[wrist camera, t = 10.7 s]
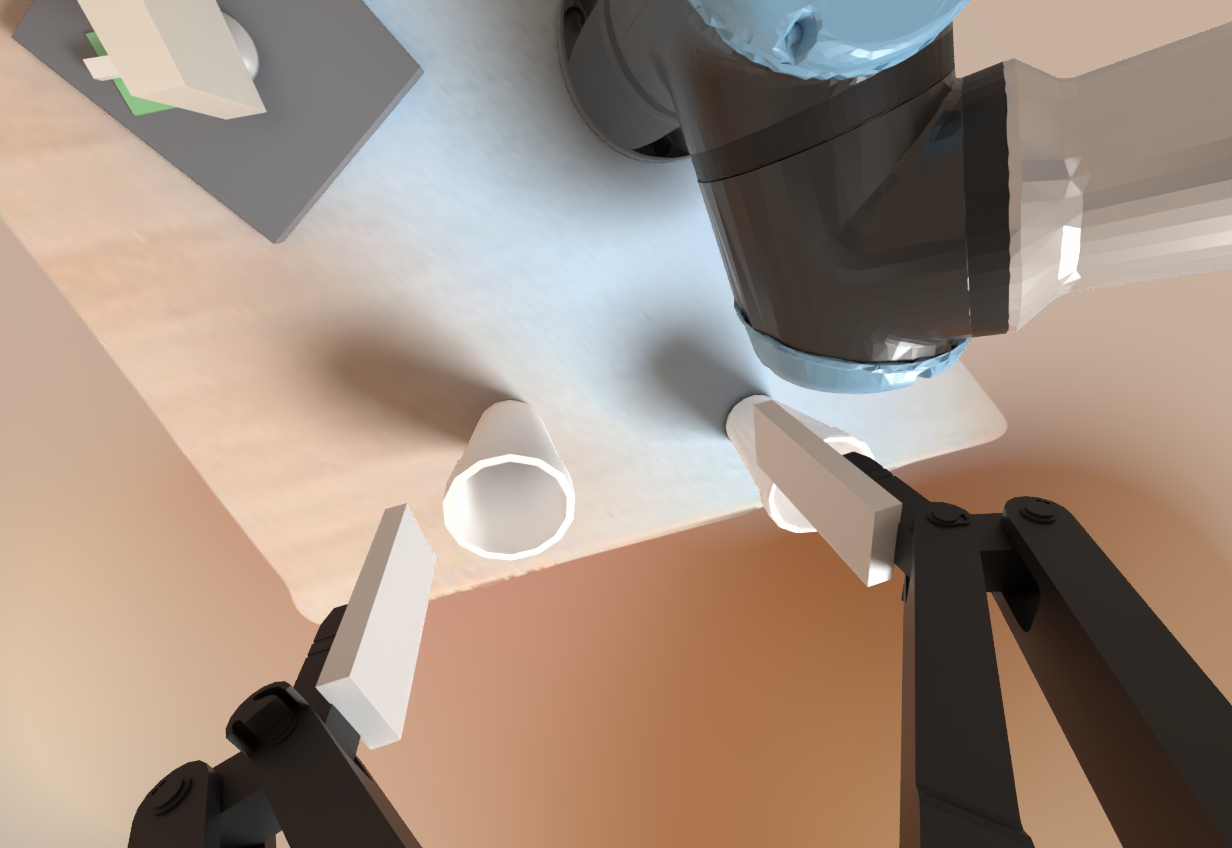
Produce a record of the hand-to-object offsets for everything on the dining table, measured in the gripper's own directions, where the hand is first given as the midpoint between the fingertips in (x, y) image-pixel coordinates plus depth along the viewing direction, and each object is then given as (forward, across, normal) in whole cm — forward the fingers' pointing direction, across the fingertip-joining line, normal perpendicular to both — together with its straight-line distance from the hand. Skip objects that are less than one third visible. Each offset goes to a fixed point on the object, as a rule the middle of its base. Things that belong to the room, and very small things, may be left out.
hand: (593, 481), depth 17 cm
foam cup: (+27, -6, -10) cm, 29 cm away
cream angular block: (+25, -17, +21) cm, 37 cm away
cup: (+27, +18, -17) cm, 37 cm away
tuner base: (+27, -14, +20) cm, 37 cm away
